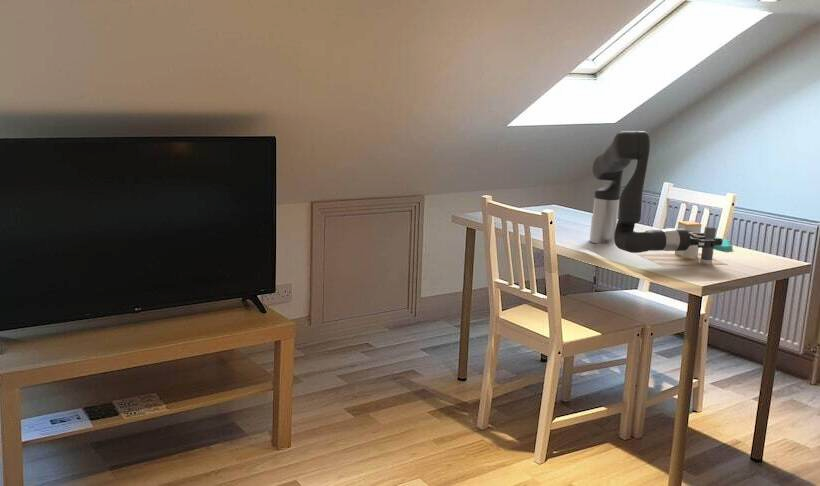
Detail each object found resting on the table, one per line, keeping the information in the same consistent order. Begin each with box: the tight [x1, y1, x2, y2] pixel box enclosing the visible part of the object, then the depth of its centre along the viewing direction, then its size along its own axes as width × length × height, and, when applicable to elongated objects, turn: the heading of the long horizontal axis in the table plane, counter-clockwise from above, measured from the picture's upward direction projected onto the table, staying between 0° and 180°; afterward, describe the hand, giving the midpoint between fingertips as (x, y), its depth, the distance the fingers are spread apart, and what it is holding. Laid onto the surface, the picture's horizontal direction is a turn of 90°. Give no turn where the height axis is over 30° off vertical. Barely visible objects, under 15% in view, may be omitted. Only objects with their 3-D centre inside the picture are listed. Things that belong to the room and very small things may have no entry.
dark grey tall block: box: [700, 226, 717, 266], centre depth 279 cm, size 4×4×12 cm
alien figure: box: [713, 236, 734, 252], centre depth 316 cm, size 20×2×20 cm
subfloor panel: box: [636, 252, 729, 268], centre depth 285 cm, size 17×25×2 cm
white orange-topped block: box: [674, 220, 702, 257], centre depth 290 cm, size 5×6×12 cm
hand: (713, 238), depth 279 cm, fingers open, 8 cm apart
